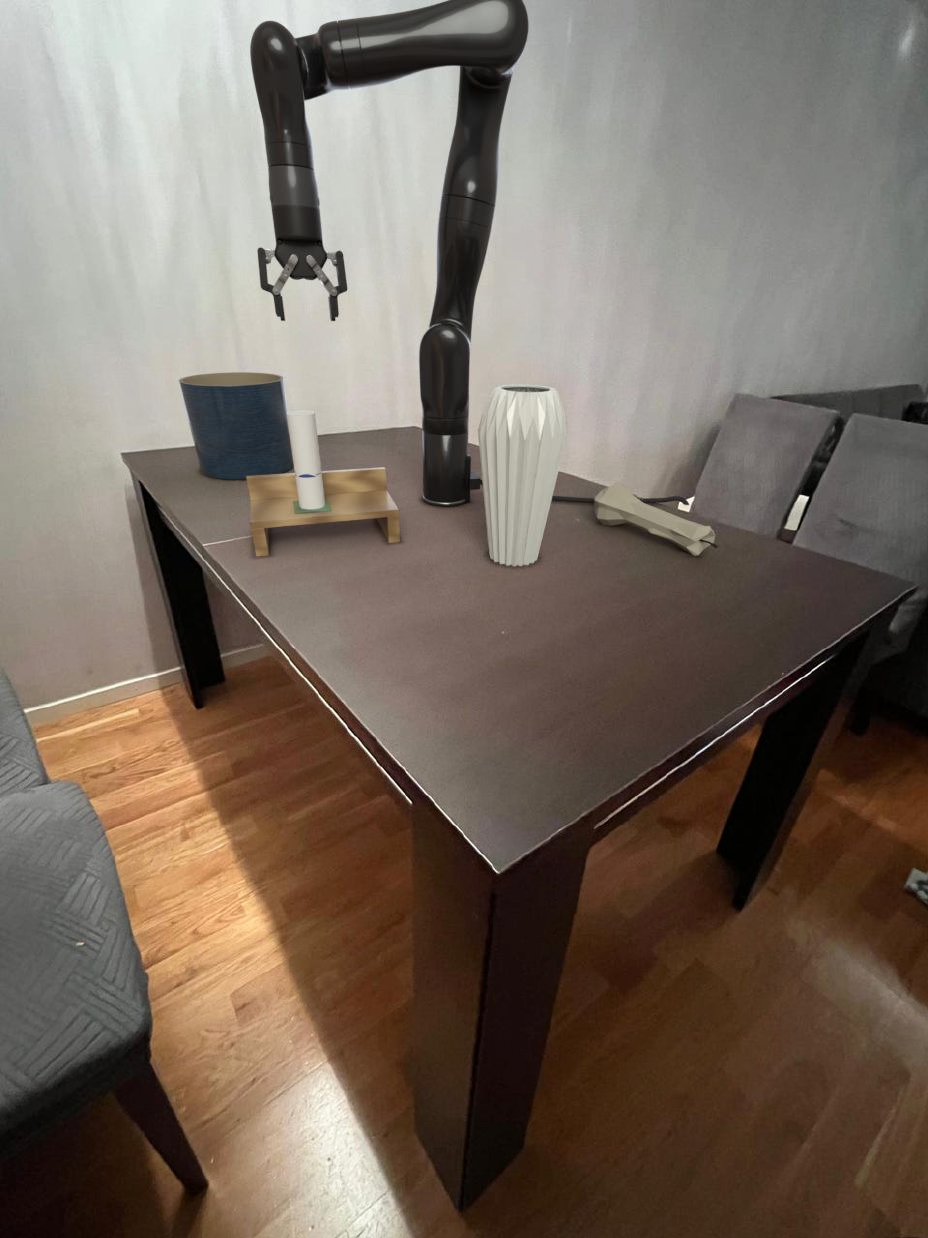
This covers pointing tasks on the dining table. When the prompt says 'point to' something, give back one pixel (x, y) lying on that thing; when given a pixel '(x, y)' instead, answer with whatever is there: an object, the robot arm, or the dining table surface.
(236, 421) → the planter
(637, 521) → the faceted club
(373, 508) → the shelf
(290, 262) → the robot arm
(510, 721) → the dining table surface
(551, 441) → the vase
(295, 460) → the tube
